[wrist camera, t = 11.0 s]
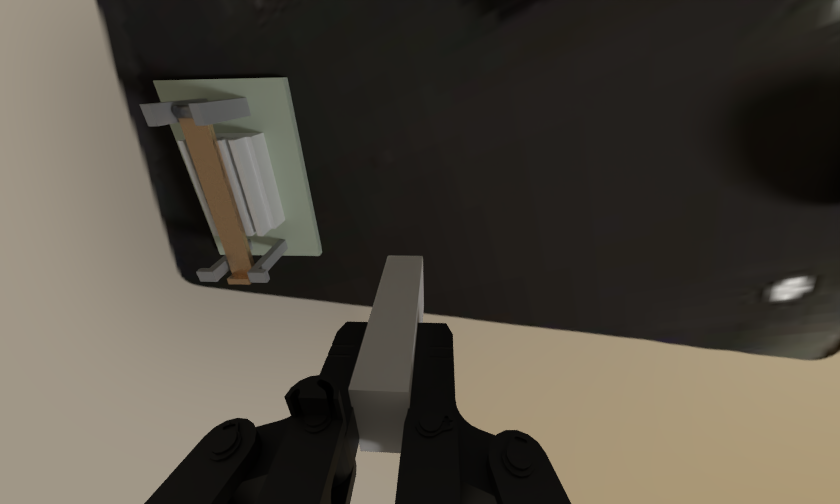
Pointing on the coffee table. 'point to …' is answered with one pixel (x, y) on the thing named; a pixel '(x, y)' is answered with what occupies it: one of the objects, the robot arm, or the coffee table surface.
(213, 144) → the strap
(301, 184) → the heatsink fixture
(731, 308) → the coffee table surface
